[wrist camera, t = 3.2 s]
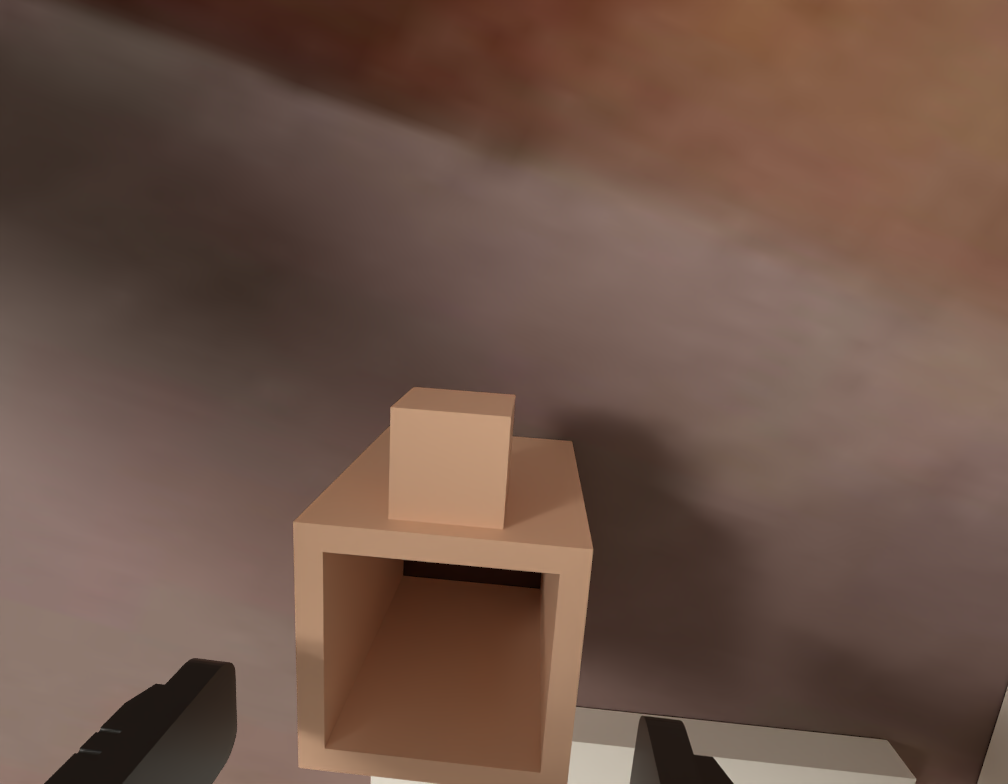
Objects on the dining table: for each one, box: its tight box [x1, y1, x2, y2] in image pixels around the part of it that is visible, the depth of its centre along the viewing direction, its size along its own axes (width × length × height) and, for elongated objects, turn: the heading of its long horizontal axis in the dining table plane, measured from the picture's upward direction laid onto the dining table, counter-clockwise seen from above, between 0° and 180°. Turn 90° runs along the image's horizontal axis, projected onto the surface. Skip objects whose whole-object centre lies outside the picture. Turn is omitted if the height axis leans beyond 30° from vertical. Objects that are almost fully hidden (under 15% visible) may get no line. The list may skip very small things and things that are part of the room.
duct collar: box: [293, 387, 593, 784], centre depth 14 cm, size 6×8×7 cm
